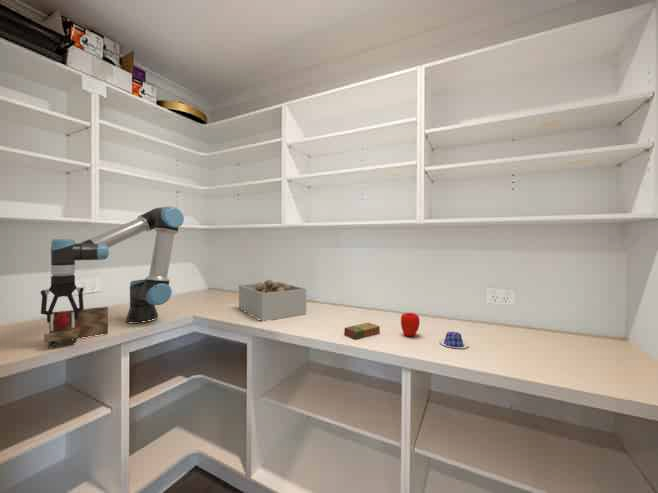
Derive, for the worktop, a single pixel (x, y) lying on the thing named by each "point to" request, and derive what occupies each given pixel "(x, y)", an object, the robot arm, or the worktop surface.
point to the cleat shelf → (61, 336)
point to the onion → (62, 320)
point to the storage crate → (272, 302)
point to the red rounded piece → (409, 323)
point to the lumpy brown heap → (269, 285)
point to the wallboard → (86, 322)
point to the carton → (361, 331)
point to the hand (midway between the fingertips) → (63, 328)
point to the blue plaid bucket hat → (453, 340)
